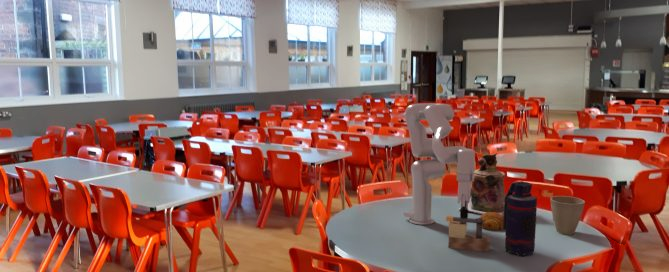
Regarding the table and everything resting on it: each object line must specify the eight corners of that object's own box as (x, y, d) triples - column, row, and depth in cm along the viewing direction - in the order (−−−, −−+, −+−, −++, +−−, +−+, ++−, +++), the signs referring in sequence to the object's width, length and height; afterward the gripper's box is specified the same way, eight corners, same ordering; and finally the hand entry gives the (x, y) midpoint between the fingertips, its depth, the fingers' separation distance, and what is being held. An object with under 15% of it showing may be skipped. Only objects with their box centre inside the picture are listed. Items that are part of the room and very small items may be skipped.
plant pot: (549, 235, 246) (551, 202, 244) (548, 226, 260) (549, 194, 258) (584, 238, 241) (586, 205, 239) (581, 229, 255) (583, 197, 253)
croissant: (475, 232, 258) (474, 217, 256) (482, 220, 271) (482, 205, 269) (505, 236, 251) (505, 220, 249) (511, 223, 264) (511, 208, 262)
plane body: (448, 247, 229) (449, 222, 228) (449, 243, 234) (450, 219, 233) (489, 251, 224) (490, 226, 222) (489, 248, 229) (490, 223, 227)
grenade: (540, 253, 222) (544, 183, 218) (522, 259, 216) (525, 187, 212) (513, 244, 234) (516, 178, 230) (495, 249, 227) (497, 181, 223)
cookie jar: (473, 202, 307) (475, 147, 303) (516, 208, 293) (519, 151, 289) (457, 211, 288) (459, 153, 283) (502, 218, 273) (504, 158, 269)
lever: (445, 220, 229) (446, 217, 229) (446, 219, 232) (446, 215, 232) (482, 224, 224) (482, 220, 224) (483, 222, 227) (483, 218, 227)
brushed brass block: (448, 236, 228) (449, 223, 227) (450, 232, 234) (450, 219, 233) (465, 238, 226) (465, 224, 225) (466, 234, 232) (466, 221, 231)
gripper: (458, 173, 240) (457, 212, 242) (454, 179, 226) (453, 221, 228) (475, 174, 238) (473, 213, 240) (472, 180, 224) (471, 222, 226)
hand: (464, 217), depth 234 cm, fingers closed
